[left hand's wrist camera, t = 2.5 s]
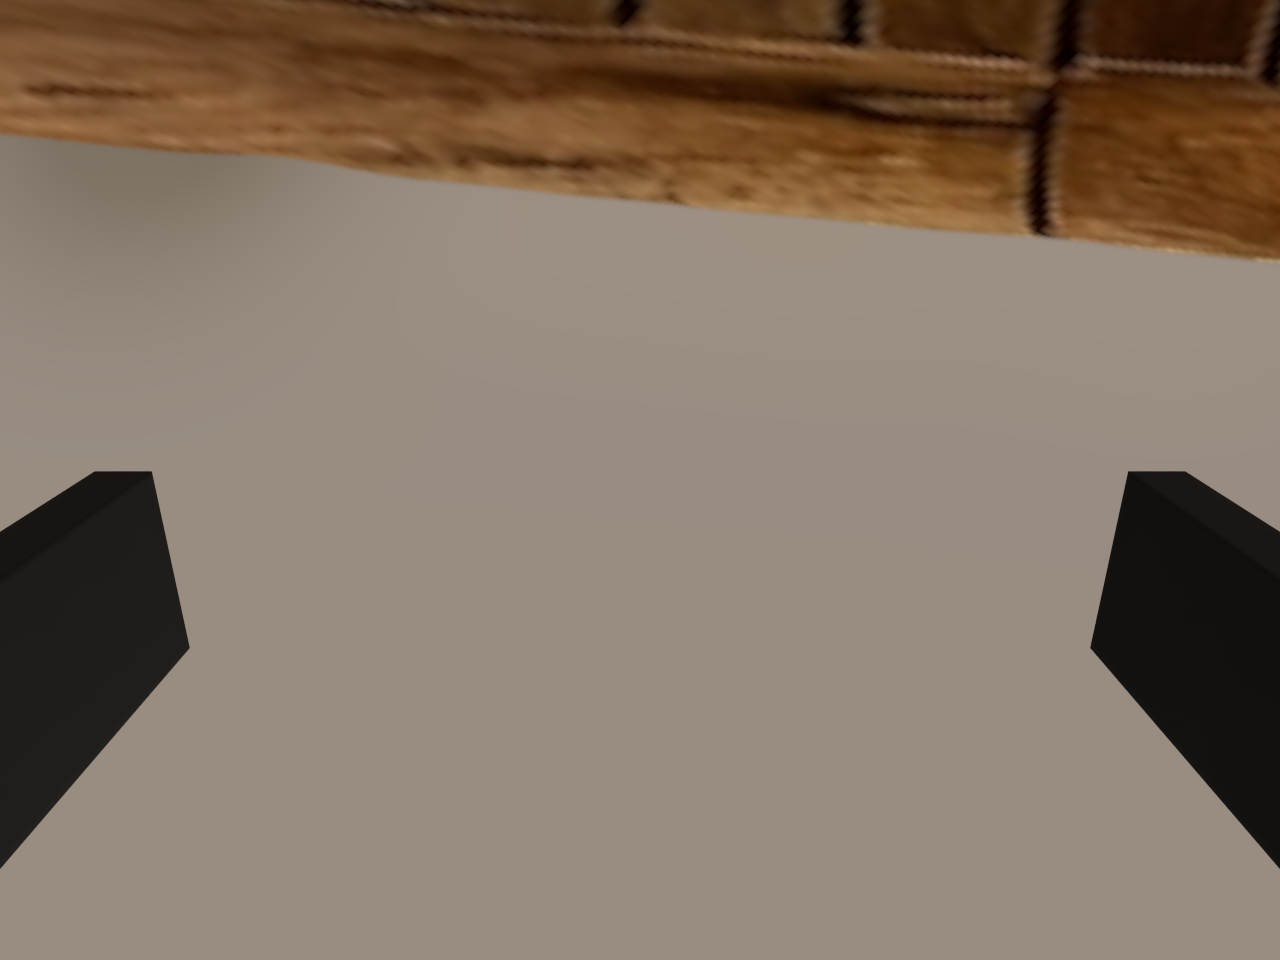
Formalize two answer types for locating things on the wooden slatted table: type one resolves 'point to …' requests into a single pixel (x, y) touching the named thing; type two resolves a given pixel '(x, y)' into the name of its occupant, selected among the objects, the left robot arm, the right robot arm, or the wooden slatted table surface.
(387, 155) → the wooden slatted table surface
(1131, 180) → the wooden slatted table surface
